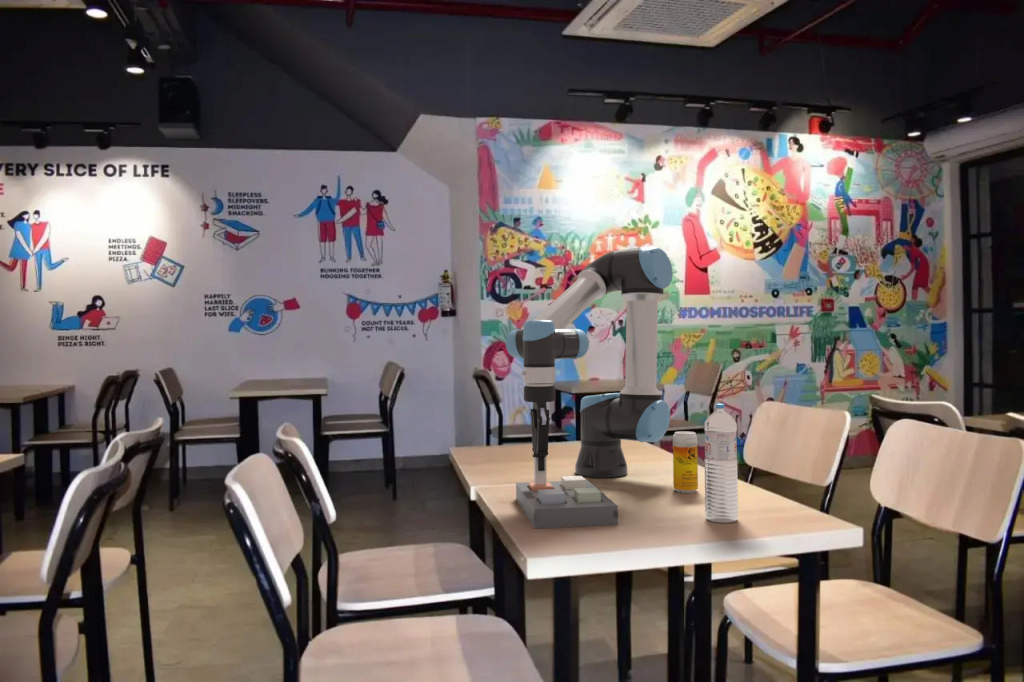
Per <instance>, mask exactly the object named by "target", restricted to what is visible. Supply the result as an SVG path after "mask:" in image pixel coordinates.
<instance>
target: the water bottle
mask: <svg viewBox="0 0 1024 682" xmlns="http://www.w3.org/2000/svg"><path fill="white" fill-rule="evenodd" d="M725 406H726V405H725V403H716V404H715V411H713V412H712V413H710V414H709V416H708V417H707V418H706V420H705V421H704V423H703V426H704V427H703V429H704V505H705V506H704V507H705V508H704V512H705V518H706V520H708V521H709V522H713V523H718V524H719V523H720V524H721V523H722V524H730V523H734V522H737V520H738V519H739V515H738V514H739V507H738V506H739V503H738V502H739V498H738V496H739V491H738V489H739V487H738V483H739V482H738V479H739V478H738V475H739V474H738V456H737V455H738V452H737V449H738V447H737V445H738V444H737V431H738V425H737V422H736V420H735V419H734V418H733V416H732V415H731V414H729V413H728V412H726V411H725Z"/></svg>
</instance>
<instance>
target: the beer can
mask: <svg viewBox="0 0 1024 682" xmlns="http://www.w3.org/2000/svg"><path fill="white" fill-rule="evenodd" d="M672 450H673V451H672V456H673V457H672V461H673V463H672V465H673V466H672V467H673V469H672V470H673V471H672V472H673V475H672V477H673V481H672V482H673V483H672V484H673V489H674V490H675V492H676V491H677V493H680V492H681V494H695V493H696V492H697V490H698V488H699V473H698V472H699V471H698V469H699V468H698V467H699V466H698V465H699V464H698V460H699V459H698V456H699V455H698V436H697V433H696V432H695V431H686V430H685V431H683V430H682V431H675V432H674V434H673V436H672Z"/></svg>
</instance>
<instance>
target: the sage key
mask: <svg viewBox="0 0 1024 682" xmlns="http://www.w3.org/2000/svg"><path fill="white" fill-rule="evenodd" d="M596 488H597V487H596ZM596 488H574V501H575V502H576V503H588V502H601V492H602V491H601V490H600V489H599V488H597V489H596ZM598 489H599V490H600V491H601V492H600V491H599V490H598Z"/></svg>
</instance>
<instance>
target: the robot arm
mask: <svg viewBox="0 0 1024 682" xmlns="http://www.w3.org/2000/svg"><path fill="white" fill-rule="evenodd" d="M672 280H673V267H672V263H671V259H670V258H669V256H668V254H667V253H666V252H665V250H663V249H662V248H661V247H657V246H642V247H636V248H629V249H621V250H619V249H617V250H612V251H609V252H607V253H605V254H603V255H601V256H599V257H597V258H596V259H595V260H593V261H592V262H590V263H589V264H588V265H587V266H585V267H584V268H583V269H582V270H581V271H580V272H579V273H578V274H577V276H576V281H574V282H573V283H572V284H571V285H570V286H569V287H568V288H567V289H566V290H564V291H563V292H562V293H561V294H560V295H559V296H557V298H556V299H554V301H553V302H552V303H550V304H549V305H548V306H547V307H546V308H545V309H544V310H543V311H542V312H541V313H539V314H538V315H537V316H536V317H535V318H534V319H533V320H527V321H525V322H524V323H523V328H522V329H521V328H518V329H514V330H511V331H510V332H509V333H508V334H507V337H506V339H505V348H506V351H507V352H508V354H509V355H510V356H511V357H513V358H515V359H516V358H517V359H518V358H519V359H523V370H522V371H521V372H520V374H521V376H523V383H524V384H525V385H524V386H523V400H524V402H526V403H532V408H530V412H529V414H530V415H529V416H530V419H531V421H530V423H531V424H530V425H531V439H532V440H531V443H532V449H531V451H532V453H533V454H532V458H533V467H534V468H533V472H534V476H533V478H534V479H533V482H534V484H535V485H539V484H547V482H548V481H547V456H549V431H550V429H549V428H550V427H549V426H550V419H551V418H550V409H548V407H547V406H548V405H547V403H551V402H552V403H553V402H555V400H556V386H555V385H554V384H555V383H556V360H576V359H580V358H583V357H584V356H585V355H586V353H588V350H589V347H590V341H589V337H588V334H586V332H585V331H584V330H582V329H579V328H574V327H573V328H571V327H570V328H567V327H568V326H569V325H570V324H571V323H572V322H573V321H575V320H576V319H577V318H578V317H579V316H580V315H581V313H583V312H584V311H585V310H586V309H587V308H588V307H589V306H590V305H591V304H592V303H594V301H595V300H600V299H602V298H603V297H605V295H606V294H609V293H612V292H620V291H621V293H620V295H621V297H622V298H623V299H624V300H625V301H626V315H625V316H626V322H625V323H626V326H625V328H626V329H625V376H624V377H625V378H624V379H625V384H624V388H622V390H620V391H619V392H613V393H605V394H604V393H603V394H595V395H586V396H584V397H582V398H581V400H580V410H579V413H580V415H579V416H580V448H579V452H578V455H577V458H576V462H575V467H574V470H575V471H574V472H575V474H576V475H577V476H582V477H589V478H590V477H591V478H613V477H614V478H616V477H623V476H626V475H627V474H628V464H627V461H626V457H625V455H624V451H623V448H622V440H624V441H625V440H626V441H633V442H640V443H655V442H658V441H660V440H661V439H662V438H663V437H664V436H665V434H666V433H667V430H668V429H669V426H670V421H671V409H670V408H669V407H670V406H669V404H668V403H667V402H666V401H665V400H663V394H662V392H661V391H660V389H658V388H657V377H658V376H657V372H658V371H657V367H658V363H657V362H658V361H657V359H658V313H659V312H658V308H659V305H658V304H659V301H660V300H661V299H662V298H664V289H666V288H668V287H669V286H670V285H671V282H672Z"/></svg>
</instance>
